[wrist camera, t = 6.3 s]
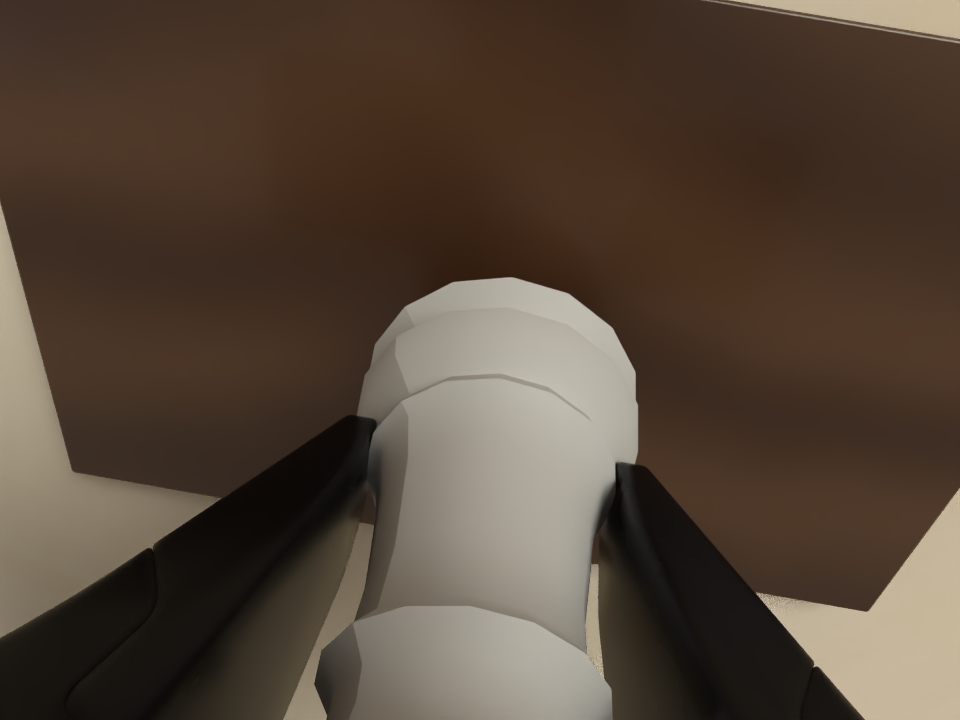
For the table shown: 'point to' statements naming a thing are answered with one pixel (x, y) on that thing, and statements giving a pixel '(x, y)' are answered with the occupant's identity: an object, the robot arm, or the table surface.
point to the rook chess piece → (485, 509)
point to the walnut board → (506, 238)
